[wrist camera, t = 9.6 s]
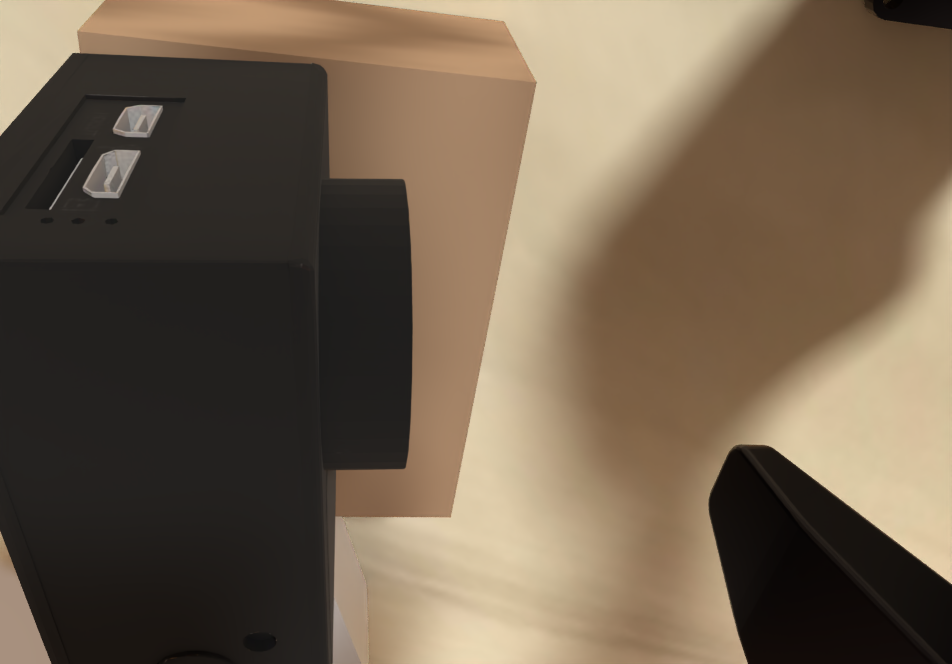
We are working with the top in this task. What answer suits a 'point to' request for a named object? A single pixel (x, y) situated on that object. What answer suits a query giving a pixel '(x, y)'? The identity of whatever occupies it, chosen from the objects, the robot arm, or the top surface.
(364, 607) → the grey block
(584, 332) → the top surface
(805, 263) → the top surface
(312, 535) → the digital camera
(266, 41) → the light brown rectangular block
